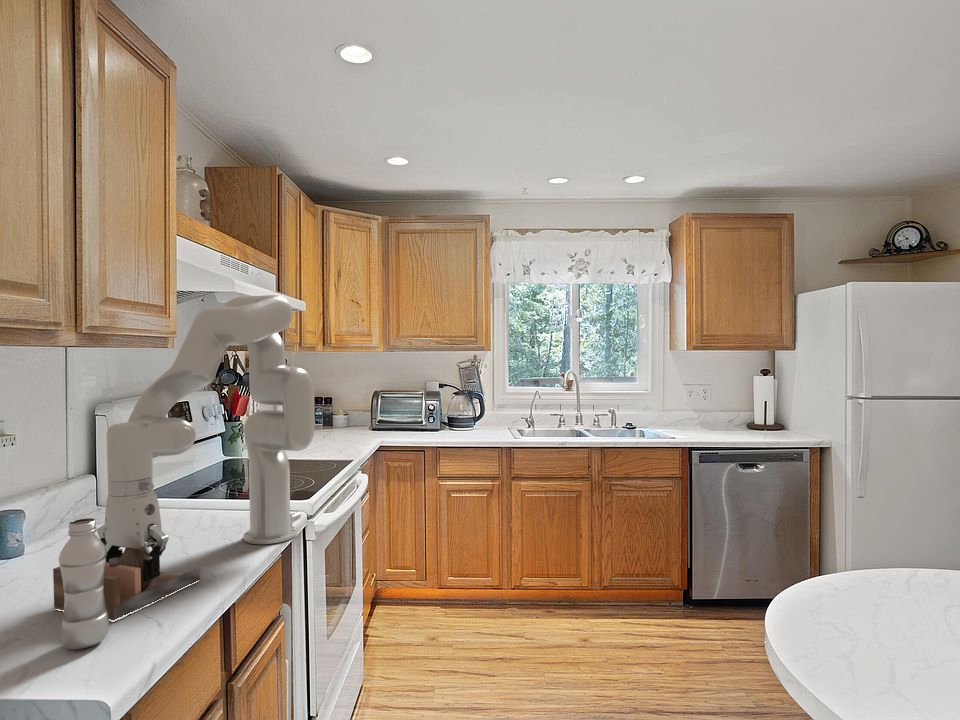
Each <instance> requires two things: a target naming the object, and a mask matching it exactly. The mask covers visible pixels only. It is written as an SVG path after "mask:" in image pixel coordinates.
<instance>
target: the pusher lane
mask: <svg viewBox="0 0 960 720" xmlns="http://www.w3.org/2000/svg"><path fill="white" fill-rule="evenodd" d="M198 580H200V581H201V569H200V568H193V569H191V570H189V571H186V572H184V573H182V574H173V573H168V572H167V573H166V572H161V571H160V575H159V576H158V577H156V578H154V579H152V582H151V584H150V585H149V586H148V587H147V589H146V590H144V591H143V592H141V593H139V594H137V595H135V596H133V597H130V598H128V599H126V600H124V601H121V602H120V578H119V577H116V576H111V575H105V574H104V583H103V585H104V588H103V592H104V599H105V607H106V611H107V614H108V619H111V620H115V619H117V618H119V617H122V616H123V615H126V614H128V613H130V612H133V611H135V610H137V609H140V608H142V607H144V606H146V605H148V604H151V603H152V602H155V601H157V600H159V599H161V598H162V597H165V596H166V595H169V594H171V593H173V592H175V591H177V590H179V589H181V588H183V587H185V586H187V585H189V584H192V583H194V582H196V581H198ZM52 581H53V610H54V609H60V610H64V601H65V598H64V588H63V579H62V575H61V570H60V566H57V567H54V568H52Z"/></svg>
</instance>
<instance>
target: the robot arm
mask: <svg viewBox="0 0 960 720" xmlns="http://www.w3.org/2000/svg"><path fill="white" fill-rule="evenodd" d="M292 318H293V309H292V305H291V303H290V302H289V301H288V300H287V299H286V298H285V297H283V296H281V295H277V294H269V295H267V294H266V295H245V296H244V295H243V296H237V297H234V298H231V299H229V300H228V301H227V302H226V303H225V305H224V307H223V306H222V307H221V306H220V307H219V306H217V307H209V308H204V309H203V310H201V311H199V312H198V313H197V314H196V316H195V318H194V319H193V321H192V323H191V325H190V327H189V330H188V332H187V334H186V336H185V338H184V340H183V342H182V344H181V346H180V349H179V351H178V353H177V355H176V358H175V360H174V362H173V363H172V364H171V367H169V368H168V369H167V370H166V371H165V372H163V374H161V375H160V376H159V377H157V379H156V380H155V381H154V382H153V383H151V385H150V386H148V388H146V390H145V391H144V392H143V393H142V394H141V396H139V398H138V400H137V401H136V403H135V406H134V408H133V409H132V412H131V413H130V415H129V418H128V421H126V422H120V423H114V424H112V425H111V426H109V427H108V428H107V430H106V457H107V458H106V459H107V460H106V463H107V464H106V465H107V469H106V470H107V498H106V502H105V503H106V504H105V512H104V513H105V514H104V524H103V525H101V526H99V527H98V528H97V531H96V533H97V535H98V538H99V539H100V540H101V541H102V542H103V544H104V545H105V548H106V560H105V562H107V563H109V559H111V558H115V557H118V558H120V556H121V555H122V554H123V552H124V551H123V548H131V549H140V550H141V552H142V553H143V555H144V557H145V558H146V560H143V579H144V581H149V580H151V579H154V578H156V577H158V576H159V575H160V572H161V560H160V558H161V557H162V555H163V552H164V551H165V550H166V546H167V544H168V541H169V539H170V538H169V535H167V534H166V533H165V532H164V531H162V529H163V528H162V520H161V518H162V517H161V510H160V506H159V500H158V496H157V493H156V492H154V488H155V485H154V472H153V471H154V469H153V468H154V466H153V461H154V460H153V459H154V457H164V456H165V457H167V456H168V457H169V456H177V455H181V454H184V453H185V452H187V451H188V450H190V449H191V447H193V445H194V443H195V441H196V429H195V428H194V426H193V425H192V424H191V422H189V421H187V420H185V419H182V418H177V417H168V416H167V415H168V413H169V412H170V411H171V409H172V407H174V406H175V404H177V403H178V402H179V401H181V400H182V399H184V398H185V397H187V396H188V395H190V394H192V393H194V392H196V391H199V390H200V389H201V390H202V389H203V388H204V387H206V386H208V385H209V384H211V383H212V382H213V381H214V379H215V377H216V374H217V372H218V369H219V367H220V364H221V362H222V361H223V358H224V355H225V353H226V351H227V348H229V346H230V347H231V346H246V347H247V351H248V371H249V374H248V375H249V377H248V380H249V381H248V382H249V383H248V384H249V394H250V397H251V399H252V400H253V402H255V403H257V404H260V405H266V406H281V407H283V410H277V409H276V410H275V409H274V410H272V409H271V410H270V409H264V410H263V409H262V410H258V411H257V410H256V411H255V412H253V413H251V414H250V415H249V416H248V418H247V419H246V421H245V423H244V426H243V437H244V441H245V445H246V446H245V447H246V449H247V456H248V481H249V483H248V484H249V486H248V488H249V490H248V491H249V494H248V496H249V530H247V531H246V532H244V533H243V536H242V537H243V540H244V542H245V543H248V544H253V545H270V544H271V545H272V544H278V543H282V542H283V543H284V542H286V541H289V540H292V539H293V538H295V537H296V536H297V534H298V530H297V528H296V527H295V526H293V523H295V521H298V520H301V518H302V517H301V516H302V514H301V513H300V512H298V511H297V512H294V513H291V482H290V480H291V479H290V478H291V476H290V474H291V473H290V472H291V471H290V462H289V458H288V455H287V454H286V451H288V452H289V451H290V452H291V451H292V452H300V451H303V450H305V449H307V448H308V447H309V446H310V445H311V443H312V441H313V438H314V436H315V387H314V383H313V380H312V378H311V376H310V374H309V372H308V371H306V370H305V369H303V368H301V367H296V366H287V364H286V352H285V345H284V344H285V343H284V342H283V339H282V337H281V335H280V334H279V333H282V332H283V331H285V329H287V328H288V326H290V323H291V322H292ZM166 416H167V417H166ZM150 547H151V551H150V550H149V548H150Z"/></svg>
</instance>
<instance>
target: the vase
mask: <svg viewBox="0 0 960 720" xmlns="http://www.w3.org/2000/svg"><path fill="white" fill-rule="evenodd" d="M122 552H123V554H122V555H121V556H120V558H119V565H125V566H131V567H137V568H141V592H143V591H144V590H146V589H147V587H148V586H149V585H150V584H151V582H152V579H151V580H149V581H144V579H143V560H146V558H145V557H144V555H143V553H142V552H141V550H140V549H131V548H125V549H124V551H122Z"/></svg>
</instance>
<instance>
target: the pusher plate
mask: <svg viewBox="0 0 960 720" xmlns="http://www.w3.org/2000/svg"><path fill="white" fill-rule="evenodd" d="M104 574H105V575H111V576H116V577H119V578H120V602H121V601H124V600H126V599H128V598H130V597H133V596H135V595H137V594H139V593H141V568H137V567H131V566H125V565H119V558H118V557H115V558H111V559H109V563H107V562H106V561H105V568H104Z"/></svg>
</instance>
